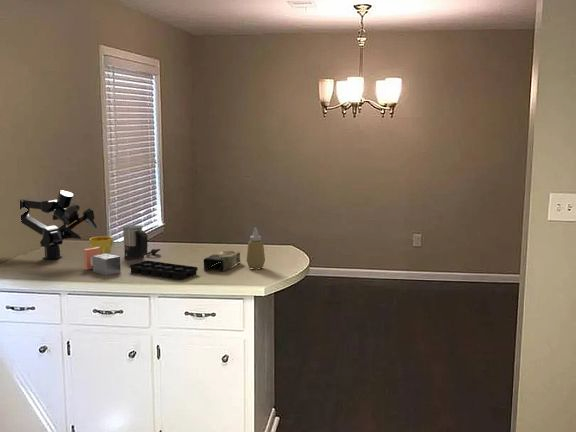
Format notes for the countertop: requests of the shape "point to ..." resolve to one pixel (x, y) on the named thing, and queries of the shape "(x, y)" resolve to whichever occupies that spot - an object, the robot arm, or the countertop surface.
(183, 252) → the countertop surface
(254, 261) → the squeeze bottle
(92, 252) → the pink block
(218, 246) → the countertop surface
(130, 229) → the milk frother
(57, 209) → the robot arm
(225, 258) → the juice carton
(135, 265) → the egg carton
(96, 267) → the housing
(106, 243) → the plant pot
